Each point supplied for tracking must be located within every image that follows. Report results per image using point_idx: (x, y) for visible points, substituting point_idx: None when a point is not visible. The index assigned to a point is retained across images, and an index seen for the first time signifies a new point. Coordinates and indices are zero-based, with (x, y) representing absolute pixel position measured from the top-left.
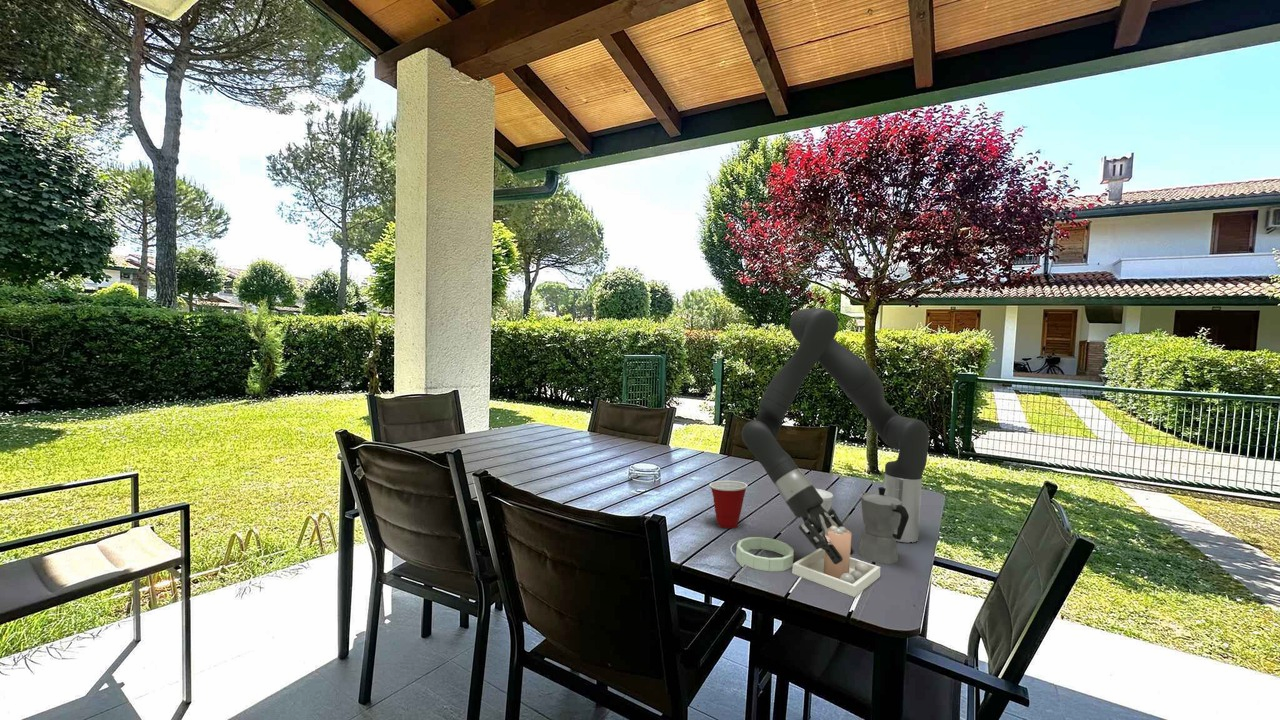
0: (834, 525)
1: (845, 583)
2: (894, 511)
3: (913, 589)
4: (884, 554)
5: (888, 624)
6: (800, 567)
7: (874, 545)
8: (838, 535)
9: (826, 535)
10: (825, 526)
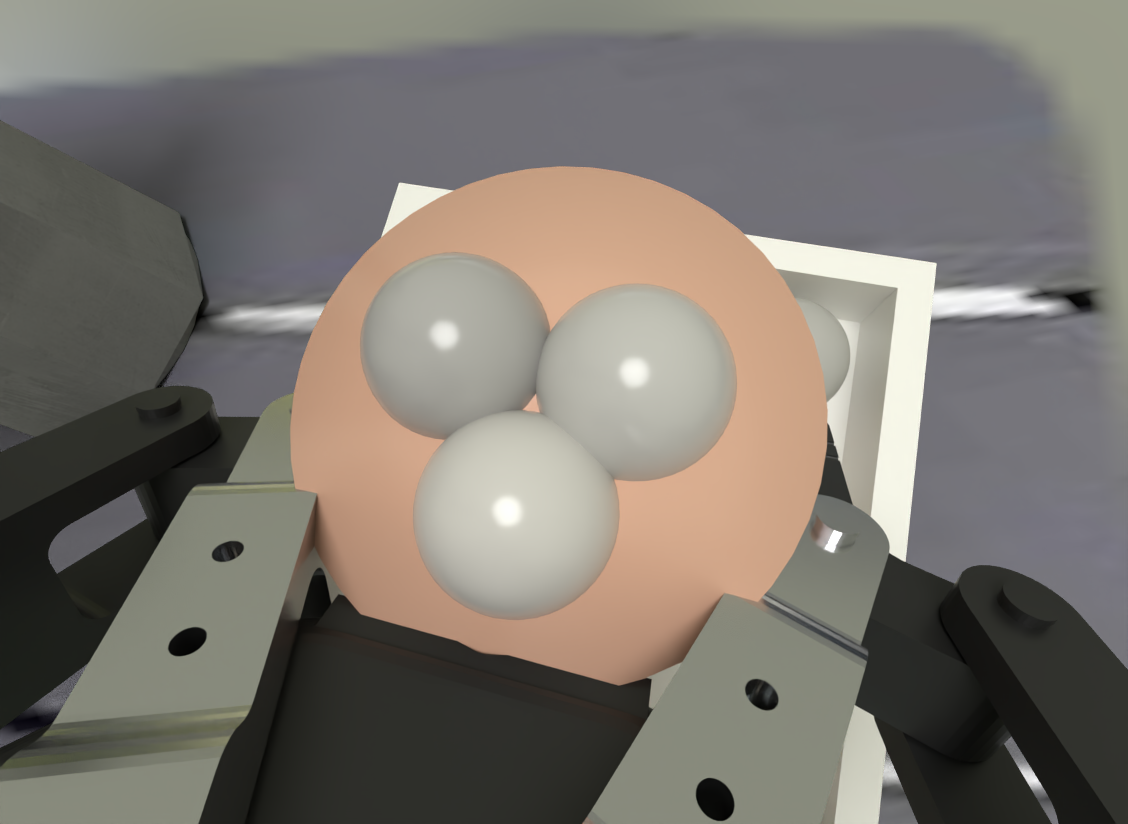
0: (307, 535)
1: (924, 340)
2: None
3: (454, 68)
4: (114, 210)
5: (1042, 95)
6: (874, 809)
7: (48, 250)
8: (814, 347)
9: (800, 612)
10: (692, 717)
